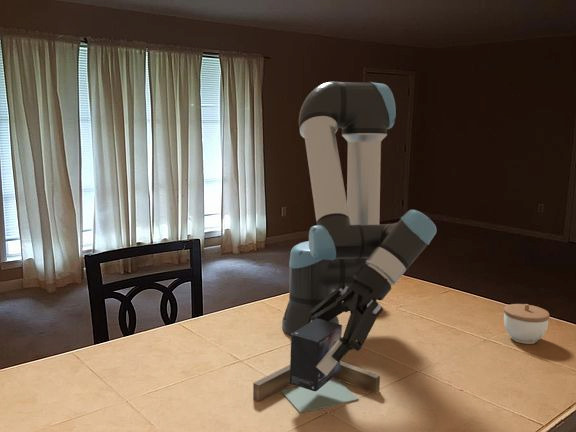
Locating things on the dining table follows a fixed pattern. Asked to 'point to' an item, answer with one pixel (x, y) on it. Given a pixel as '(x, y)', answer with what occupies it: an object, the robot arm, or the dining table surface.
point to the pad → (319, 396)
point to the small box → (312, 353)
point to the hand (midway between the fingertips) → (308, 359)
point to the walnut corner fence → (346, 374)
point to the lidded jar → (525, 322)
